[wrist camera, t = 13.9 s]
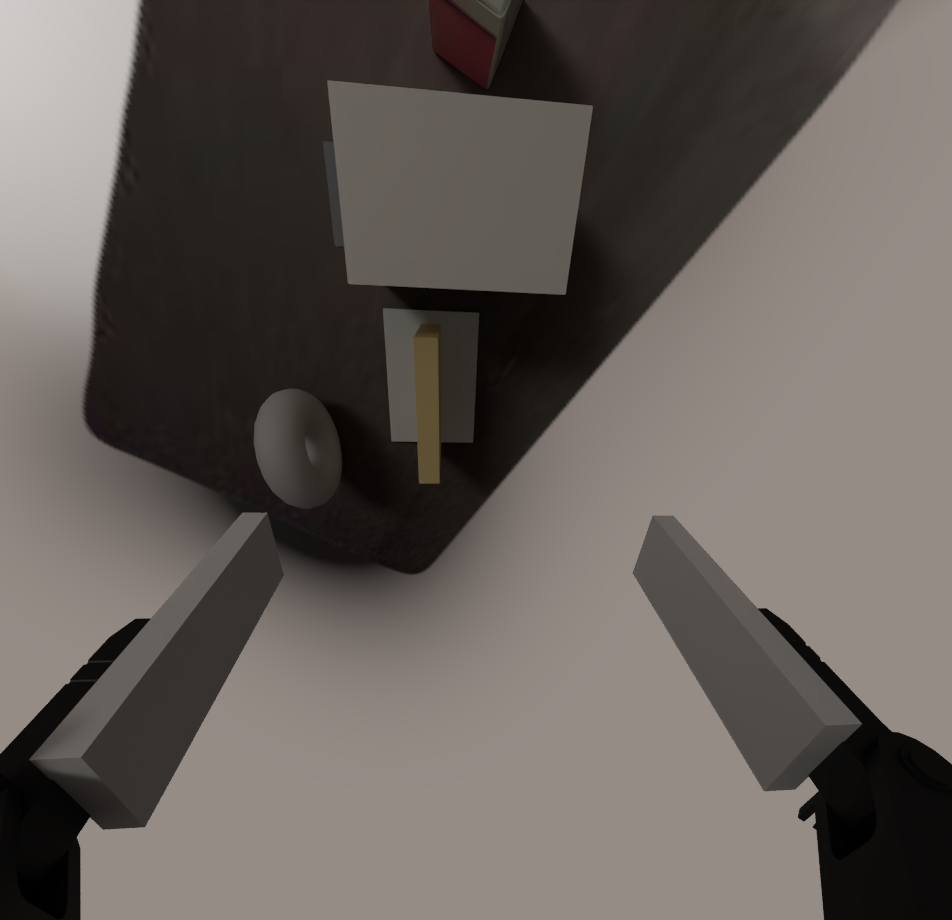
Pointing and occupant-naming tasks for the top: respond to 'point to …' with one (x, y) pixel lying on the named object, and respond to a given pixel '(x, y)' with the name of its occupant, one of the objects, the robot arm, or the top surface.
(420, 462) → the yellow rectangular slab
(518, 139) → the large beige block
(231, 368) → the top surface
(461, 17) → the small box
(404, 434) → the mat
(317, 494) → the donut
